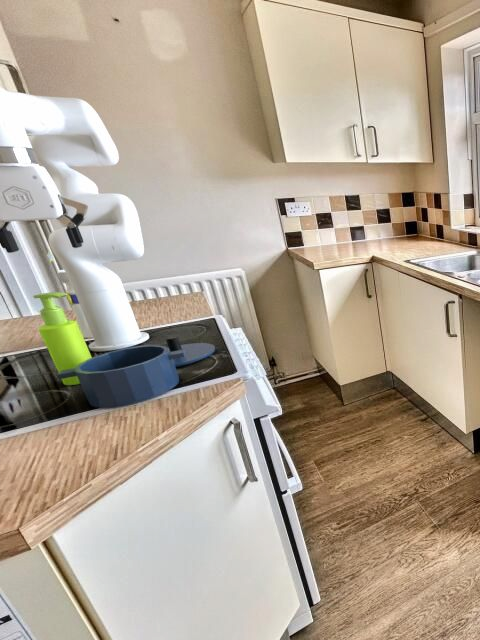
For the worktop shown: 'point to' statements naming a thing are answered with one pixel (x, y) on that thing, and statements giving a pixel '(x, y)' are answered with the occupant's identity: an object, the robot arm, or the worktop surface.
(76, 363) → the soap dispenser
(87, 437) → the worktop surface
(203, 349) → the pan lid
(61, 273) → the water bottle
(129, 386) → the pan
